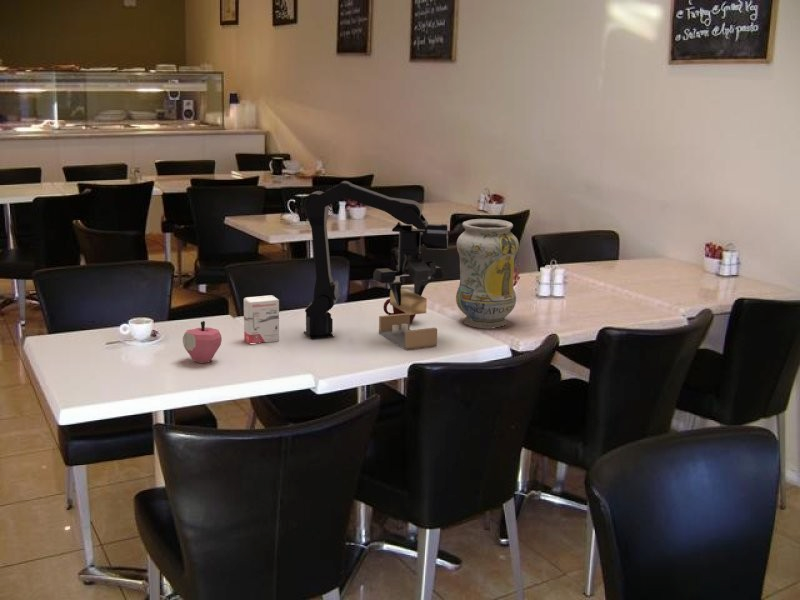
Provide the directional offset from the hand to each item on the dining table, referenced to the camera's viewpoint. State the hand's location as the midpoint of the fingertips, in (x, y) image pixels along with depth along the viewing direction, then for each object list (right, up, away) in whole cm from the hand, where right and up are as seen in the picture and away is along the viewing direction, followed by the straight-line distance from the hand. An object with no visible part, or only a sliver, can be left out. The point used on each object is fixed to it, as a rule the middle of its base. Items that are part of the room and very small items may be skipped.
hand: (407, 304), depth 244 cm
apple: (-51, -14, -20) cm, 57 cm away
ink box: (-40, -10, -1) cm, 41 cm away
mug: (-2, -6, +19) cm, 20 cm away
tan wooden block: (0, -1, 0) cm, 1 cm away
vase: (+23, -6, +21) cm, 32 cm away
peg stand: (0, -10, +2) cm, 10 cm away
